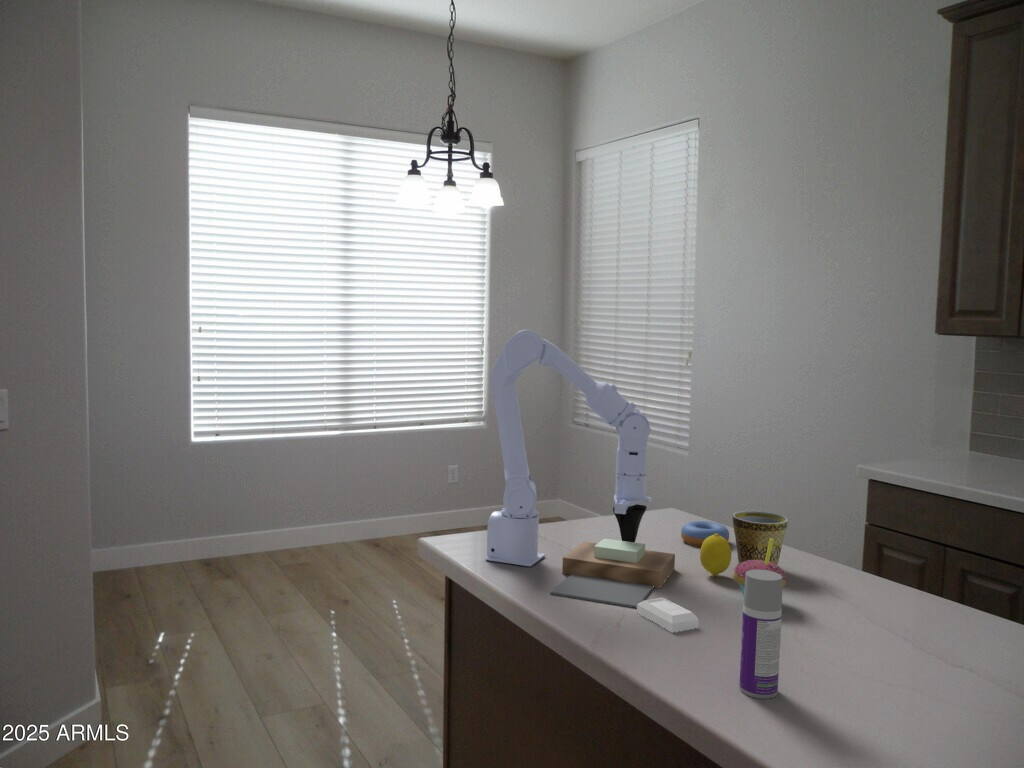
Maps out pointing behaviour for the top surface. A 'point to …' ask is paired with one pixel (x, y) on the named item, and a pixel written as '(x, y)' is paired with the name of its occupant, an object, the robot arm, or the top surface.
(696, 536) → the doughnut
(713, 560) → the lemon
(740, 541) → the ceramic cup
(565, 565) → the board
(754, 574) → the container
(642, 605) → the soap bar
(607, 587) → the mat
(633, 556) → the tile
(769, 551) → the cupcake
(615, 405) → the robot arm
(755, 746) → the top surface
